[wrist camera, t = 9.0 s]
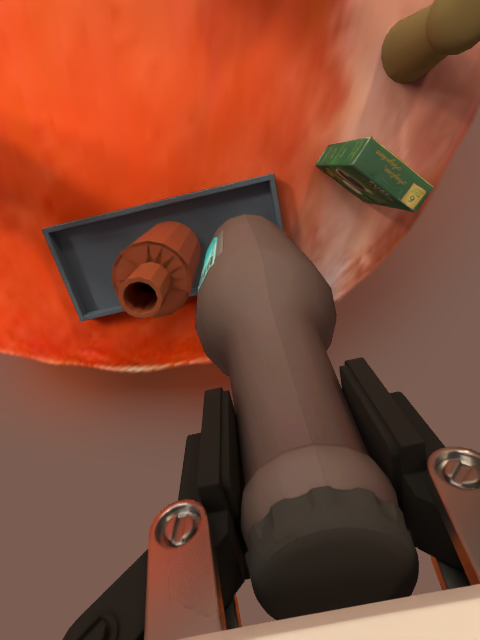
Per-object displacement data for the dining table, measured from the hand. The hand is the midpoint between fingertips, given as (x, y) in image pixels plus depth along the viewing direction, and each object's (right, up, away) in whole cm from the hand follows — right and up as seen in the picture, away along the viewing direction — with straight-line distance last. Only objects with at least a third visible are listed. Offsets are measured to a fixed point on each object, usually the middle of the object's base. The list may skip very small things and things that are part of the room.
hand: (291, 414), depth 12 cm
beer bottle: (-1, +9, +23) cm, 25 cm away
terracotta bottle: (-10, +12, +35) cm, 38 cm away
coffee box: (+11, +21, +33) cm, 40 cm away
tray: (-10, +12, +35) cm, 38 cm away
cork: (+17, +32, +28) cm, 46 cm away
